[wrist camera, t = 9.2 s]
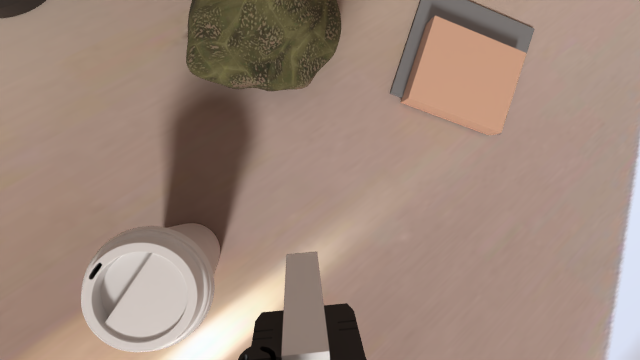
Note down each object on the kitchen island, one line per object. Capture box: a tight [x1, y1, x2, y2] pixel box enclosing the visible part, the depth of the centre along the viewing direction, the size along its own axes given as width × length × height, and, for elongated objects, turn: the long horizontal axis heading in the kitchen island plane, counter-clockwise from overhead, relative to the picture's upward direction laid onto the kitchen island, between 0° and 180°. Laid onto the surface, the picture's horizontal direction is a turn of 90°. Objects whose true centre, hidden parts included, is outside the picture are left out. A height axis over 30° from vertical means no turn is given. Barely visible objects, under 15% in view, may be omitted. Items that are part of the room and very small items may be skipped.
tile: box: [401, 16, 526, 135], centre depth 42 cm, size 2×12×10 cm
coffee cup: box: [81, 223, 220, 352], centre depth 32 cm, size 10×10×15 cm
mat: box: [390, 0, 534, 134], centre depth 43 cm, size 14×15×1 cm
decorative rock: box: [186, 0, 341, 91], centre depth 36 cm, size 15×16×10 cm
